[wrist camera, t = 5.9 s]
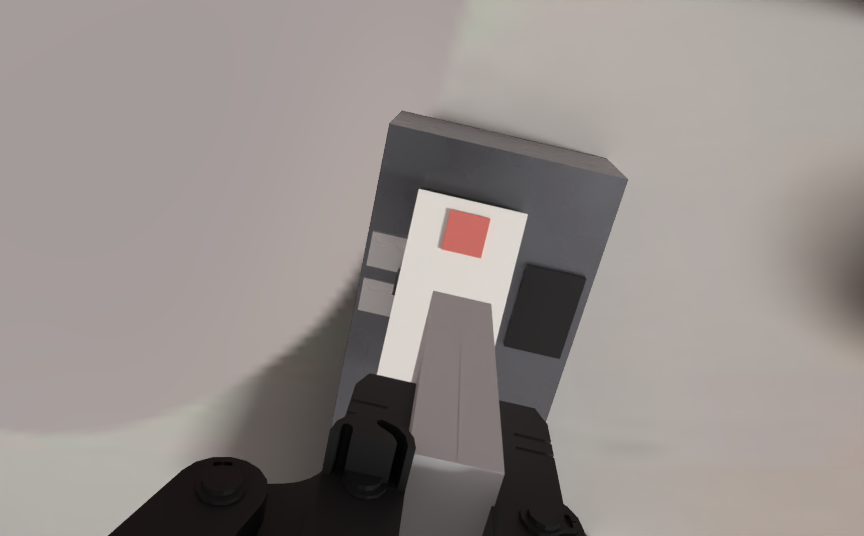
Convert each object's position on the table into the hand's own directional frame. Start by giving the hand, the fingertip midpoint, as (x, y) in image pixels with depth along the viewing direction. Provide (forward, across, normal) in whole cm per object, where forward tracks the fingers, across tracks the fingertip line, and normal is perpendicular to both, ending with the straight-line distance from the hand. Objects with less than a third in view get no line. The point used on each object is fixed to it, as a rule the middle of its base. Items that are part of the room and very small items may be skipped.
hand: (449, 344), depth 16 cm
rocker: (+10, 0, +3) cm, 10 cm away
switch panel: (+16, -1, +10) cm, 19 cm away
